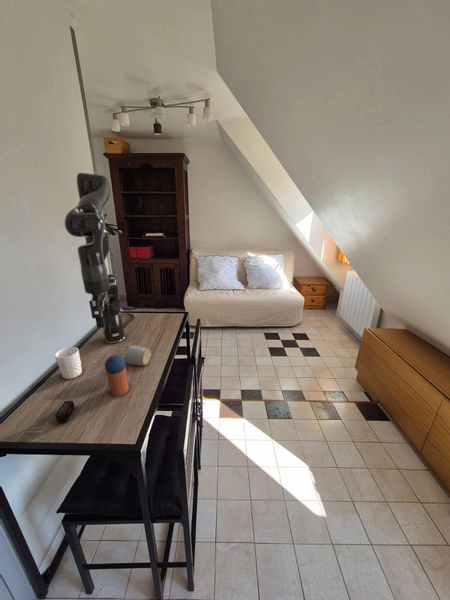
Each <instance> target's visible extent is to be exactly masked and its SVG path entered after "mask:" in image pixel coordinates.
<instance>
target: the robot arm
mask: <svg viewBox="0 0 450 600" xmlns="http://www.w3.org/2000/svg"><path fill="white" fill-rule="evenodd" d="M76 188H77V193H78V198H79V200H78V204H77V206H75V207H74V208H72V209H71V210H69V212H67V214H66V215H65V219H64V228H65V230H66V232H67V233H68V234H69V235H70V236H72V237H75V238H85V244H82V245H79V246H78V248H77V255H78V259H79V264H80V274H81V278H82V284H83V288H84V292H85V293H86V294H88V295H92V296H91V300H89V302H88V303H89V307H90V312H91V318H92V319H95V324H96V328H98V329H102V330H103V336H104V342H105V343H106V344H118V343H121V342H122V341H124V340H125V339H126V334H125V328H126V327H127V326H128V325H129V323H131V322H132V321H133V320H134V319H135V315H134V314H132V313H130V312H131V311H132V310H133V309H134V310H137V308H136V307H135V306H132V307H131V308H129V310H127V315H128V316H131V319H129V320H128V321H127V322H126V323H125V324H124V323H123V317H122V310H121V306H120V304H121V303H120V292H119V283H118V280H117V277H116V276H115V275H114V274H112V273H108V268H107V265H106V261H105V260H106V259H107V257H108V255H109V253H110V250H111V240H110V232H109V231H108V229H107V228H106V223H105V219H104V218H103V216H102V210H103V208H104V206H106V203H107V202H108V200H109V198H110V194H111V193H110V192H111V191H110V190H111V189H110V182H109V179H108V177H106V176H105V175H102V174H96V173H88V172H87V173H85V172H78V173H77V175H76Z"/></svg>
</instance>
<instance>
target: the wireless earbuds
mask: <svg viewBox="0 0 450 600" xmlns="http://www.w3.org/2000/svg"><path fill="white" fill-rule="evenodd" d="M75 409H76V408H75V402H74V400H65V401H64V402H62V404H61V406H59V408H58V410H57V412H56V413H55V414H54V416H55V420H56V423H57V424H66V423H67V422H68V420H69V419H70V417H71V415H72V413H73V412H74V411H75Z"/></svg>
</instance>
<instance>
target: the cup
mask: <svg viewBox="0 0 450 600" xmlns="http://www.w3.org/2000/svg"><path fill="white" fill-rule="evenodd" d="M105 373H106V379H107V382H108V388H109V392H110V395H112V396H114V397H119V396H123V395H125V394H127V393H128V391H129V390H130V383H129V378H128V373H127V367H126V366H125V367H124V369H123V370H122V371H121V372H119V373H116V374H110V373H108V372H107V371H106V370H105Z"/></svg>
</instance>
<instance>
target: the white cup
mask: <svg viewBox="0 0 450 600" xmlns="http://www.w3.org/2000/svg"><path fill="white" fill-rule="evenodd" d="M54 358H55V360H56V363H57V366H58V369H59V371H60V373H61V375H62V378H63V379H65V380H71V379H74V378H76V377H79V376H80V375H81V374H82V372H83V368H82V362H81V355H80V350H79V347H76V346H69V347H65V348H62V349H60V350H58V351H56V352H55V354H54Z"/></svg>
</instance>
